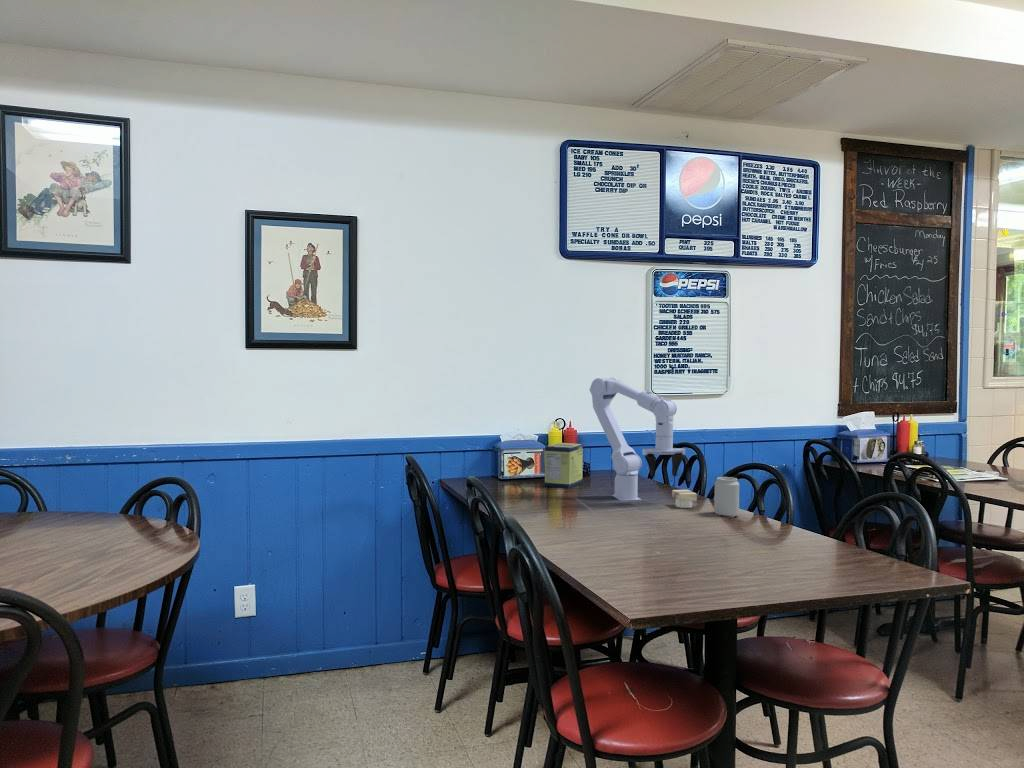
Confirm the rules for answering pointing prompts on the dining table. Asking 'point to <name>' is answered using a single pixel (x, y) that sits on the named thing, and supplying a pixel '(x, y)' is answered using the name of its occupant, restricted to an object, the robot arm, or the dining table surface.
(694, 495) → the block
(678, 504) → the bowl
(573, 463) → the protein box
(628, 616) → the dining table surface
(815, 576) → the dining table surface
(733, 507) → the can
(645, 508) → the mat
